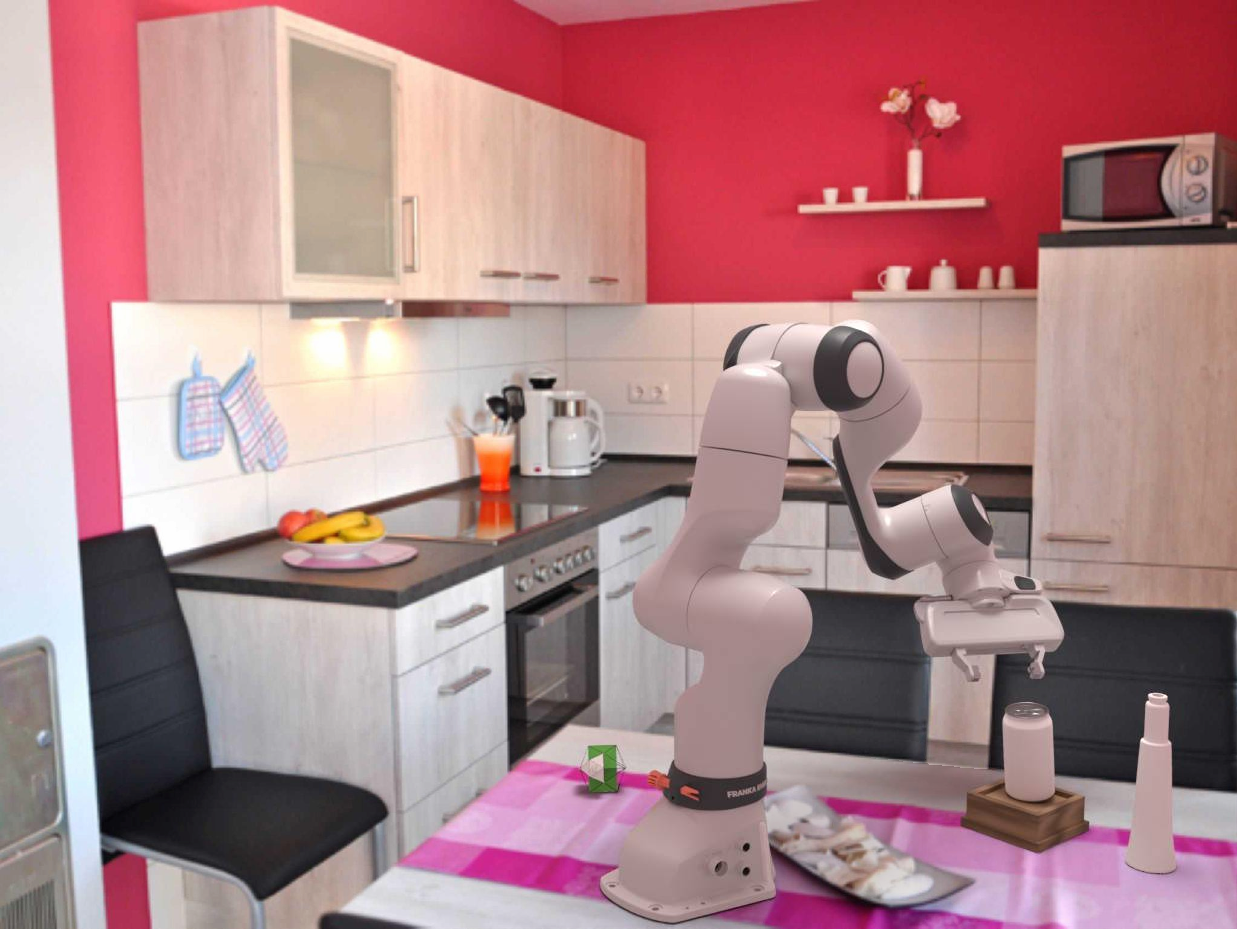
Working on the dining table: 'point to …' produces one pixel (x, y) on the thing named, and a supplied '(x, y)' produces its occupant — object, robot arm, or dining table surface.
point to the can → (1028, 752)
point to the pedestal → (1025, 817)
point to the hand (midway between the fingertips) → (1006, 678)
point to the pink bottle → (1153, 795)
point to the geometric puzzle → (602, 768)
